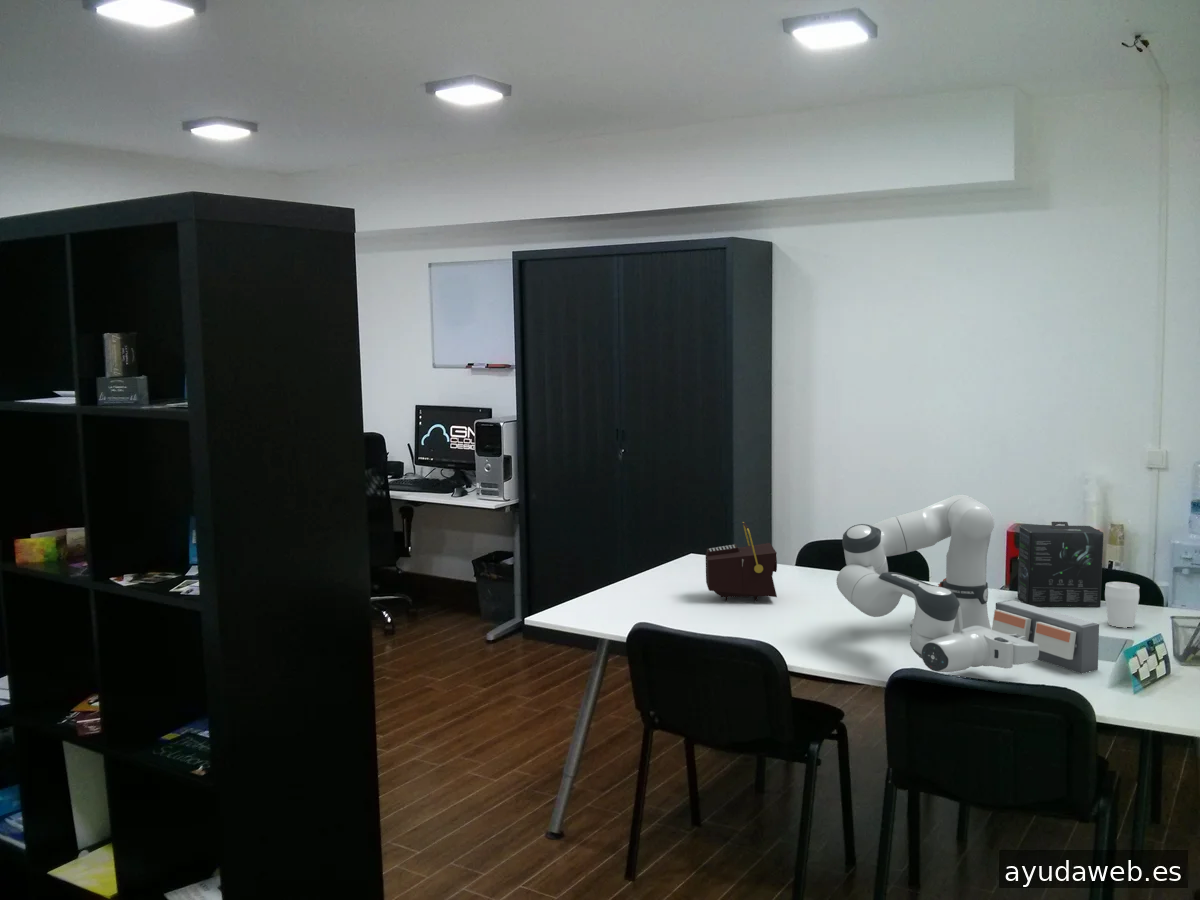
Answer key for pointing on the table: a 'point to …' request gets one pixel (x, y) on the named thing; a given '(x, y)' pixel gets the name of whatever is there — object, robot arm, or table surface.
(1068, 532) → the headset box
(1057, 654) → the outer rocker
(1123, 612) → the cup
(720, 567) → the dark brown boxy piece
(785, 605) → the table surface
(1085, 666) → the switch block
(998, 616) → the block
